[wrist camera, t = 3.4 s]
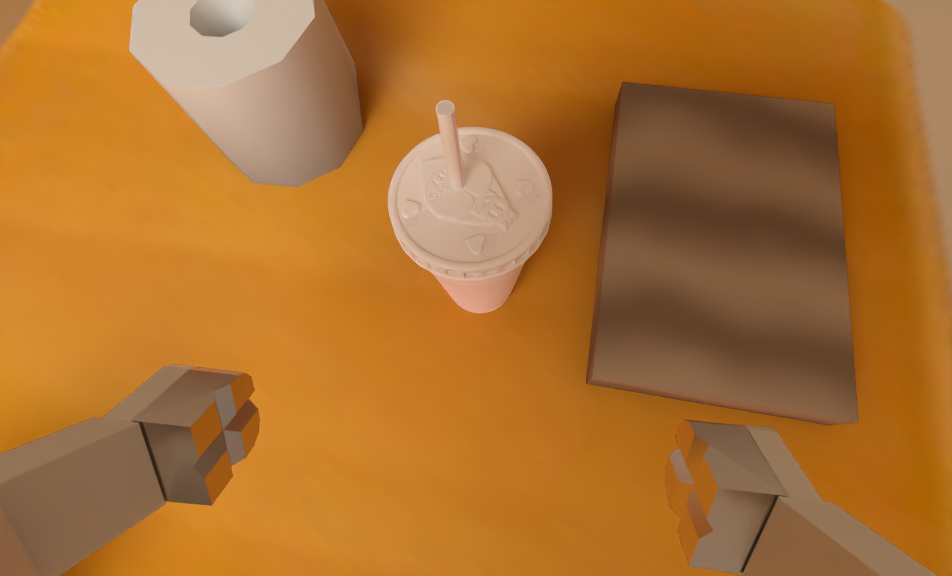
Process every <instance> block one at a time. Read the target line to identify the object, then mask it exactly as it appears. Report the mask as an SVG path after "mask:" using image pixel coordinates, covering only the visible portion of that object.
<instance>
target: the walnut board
mask: <svg viewBox="0 0 952 576" xmlns="http://www.w3.org/2000/svg"><path fill="white" fill-rule="evenodd" d="M586 384H592V385H598V386H603V387H609V388H615V389H621V390H627V391H633V392H638V393H644V394H650V395H656V396H662V397H668V398H673V399H679V400H685V401H691V402H697V403H703V404H708V405H714V406H720V407H726V408H732V409H738V410H743V411H749V412H755V413H761V414H767V415H772V416H778V417H784V418H790V419H796V420H802V421H807V422H813V423H819V424H825V425H839V424H849V423H859V422H858V409H857V396H856V383H855V370H854V356H853V343H852V330H851V317H850V304H849V291H848V277H847V264H846V251H845V238H844V225H843V212H842V199H841V185H840V172H839V159H838V146H837V133H836V120H835V106H834V104H832V103H822V102H812V101H803V100H793V99H783V98H773V97H764V96H754V95H744V94H735V93H725V92H715V91H705V90H696V89H686V88H676V87H666V86H657V85H647V84H637V83H628V82H623V83H622V86H621V89H620V92H619V95H618V98H617V101H616V105H615V113H614V123H613V132H612V141H611V151H610V160H609V170H608V179H607V189H606V198H605V208H604V217H603V227H602V236H601V245H600V255H599V264H598V274H597V283H596V293H595V302H594V312H593V321H592V331H591V340H590V349H589V359H588V368H587V378H586Z"/></svg>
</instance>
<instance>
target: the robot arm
mask: <svg viewBox="0 0 952 576" xmlns="http://www.w3.org/2000/svg"><path fill="white" fill-rule="evenodd" d="M254 391H255V390H254V386H253V382H252V378H251V376H249V375H248V374H246V373H243V372H235V371H227V370H220V369H212V368H204V367H193V366H186V365H178V364H171V365H167V366H164V367H163V368H161V369H160V370H159V371H158V372H157V373H155V374H154V375H153V376H152V377H151V378H149V379H148V380H147V381H146V382H145V383H143V384H142V385H141V386H140V387H139V388H137V389H136V390H135V391H134V392H133V393H132V394H130V395H129V396H128V397H127V398H126V399H124V400H123V401H122V402H121V403H120V404H118V405H117V406H116V407H115V408H114V409H112V410H111V411H110V412H109V413H108V414H106V415H105V416H104V417H103V418H95V417H93V418H91V419H88V420H86V421H83V422H81V423H78V424H76V425H73V426H70V427H68V428H65V429H63V430H60V431H58V432H55V433H53V434H50V435H48V436H45V437H42V438H40V439H37V440H35V441H32V442H30V443H27V444H25V445H22V446H20V447H17V448H14V449H12V450H9V451H7V452H4V453H2V454H0V576H60V575H61V574H63V573H64V572H66V571H67V570H69V569H70V568H72V567H73V566H75V565H76V564H78V563H79V562H81V561H82V560H84V559H85V558H87V557H88V556H89V555H91V554H92V553H94V552H95V551H97V550H98V549H100V548H101V547H103V546H104V545H106V544H107V543H109V542H110V541H112V540H113V539H115V538H116V537H117V536H119V535H120V534H122V533H123V532H125V531H126V530H128V529H129V528H131V527H132V526H134V525H135V524H137V523H138V522H140V521H141V520H143V519H144V518H145V517H147V516H148V515H150V514H151V513H153V512H154V511H156V510H157V509H159V508H160V507H162V506H163V505H165V501H168V502H178V503H189V504H199V505H210V506H212V505H213V503H214V502H215V500H216V499H217V498H218V496H219V495H220V493H221V492H222V491H223V489H224V488H225V486H226V485H227V484H228V482H229V481H230V479H231V478H232V477H233V474H232V465H234V464H236V463H238V462H239V461H241V460H243V459H245V458H246V457H247V455H248V454H249V452H250V451H251V449H252V448H253V446H254V444H255V441H256V438H257V436H258V433H259V424H260V417H259V411H258V408H257V407H256V406H255V405H254V404H253V403H252V402H251V401H250V400H249V398H250V396H251V395H252V394H253V392H254ZM675 438H676V441H677V443H678V446H679V448H678V449H677V450H675V451H674V452H672V453H671V454H670V455H669V458H668V462H667V466H666V473H665V487H666V493H667V498H668V501H669V505H670V508H671V509H672V510H673V511H674V512H675V513H676V514H677V515H678V516H679V517H680V518H681V521H680V524H679V527H678V530H677V531H678V534H679V537H680V540H681V543H682V546H683V550H684V553H685V556H686V559H687V562H688V565H689V566H691V567H697V568H704V569H710V570H717V571H723V572H730V573H736V574H742V576H937V575H936V574H934V573H933V572H931V571H930V570H928V569H927V568H926V567H924V566H923V565H921V564H920V563H918V562H917V561H916V560H914V559H913V558H911V557H910V556H908V555H907V554H906V553H904V552H903V551H901V550H900V549H899V548H897V547H896V546H894V545H893V544H891V543H890V542H889V541H887V540H886V539H884V538H883V537H881V536H880V535H879V534H877V533H876V532H874V531H873V530H871V529H870V528H869V527H867V526H866V525H864V524H863V523H861V522H860V521H859V520H857V519H856V518H854V517H853V516H851V515H850V514H849V513H847V512H846V511H844V510H843V509H841V508H840V507H839V506H837V505H836V504H834V503H831V502H823V500H822V499H821V497H820V496H819V494H818V493H817V491H816V490H815V488H814V487H813V485H812V484H811V482H810V481H809V479H808V478H807V476H806V475H805V473H804V472H803V470H802V469H801V467H800V466H799V464H798V463H797V461H796V460H795V458H794V457H793V455H792V454H791V452H790V451H789V449H788V448H787V446H786V445H785V443H784V442H783V440H782V439H781V437H780V436H779V434H778V433H777V432H776V431H775V430H774V429H772V428H771V427H763V426H751V425H732V424H722V423H712V422H702V421H692V420H682V421H681V423H680V424H679V425H678V428H677V432H676V435H675Z"/></svg>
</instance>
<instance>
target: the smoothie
mask: <svg viewBox="0 0 952 576" xmlns="http://www.w3.org/2000/svg"><path fill="white" fill-rule="evenodd" d="M436 113H437V118H438V124H439V129H440V133H438V134H435V135H433V136H431V137H429V138H427V139H426V140H424V141H423V142H421V143H420V144H418V145H417V146H416V147H414V148H413V149H412V150H411V151H410V152H409V153H408V154H407V155H406V156H405V157H404V159H403V160H402V161H401V163H400V164H399V166H398V167H397V169H396V171H395V173H394V175H393V177H392V180H391V183H390V187H389V192H388V211H389V216H390V220H391V223H392V225H393V228H394V233H395V236H396V238H397V239H398V241H399V243H400V245H401V246H402V248H403V250H404V252H405V253H406V254H407V255H408V256H409V257H410V258H411V259H413V260H414V261H415V262H416V263H417V264H418V265H419V266H420V267H422V268H424V269H426V270H428V271H430V272H431V273H432V274H433V275H434V276H435V278H436V279H437V280H438V281H439V283H440V284H441V285H442V286H443V288H444V289H445V290H446V291H447V293H448V294H449V295H450V296H451V298H452V299H453V300H454V301H455V303H456V304H457V305H458V306H460V307H461V308H463V309H464V310H466V311H469V312H472V313H488V312H491V311H494V310H496V309H498V308H499V307H501V306H502V305H503V304H504V303H505V302H506V301H507V300H508V298H509V296H510V294H511V292H512V290H513V288H514V285H515V283H516V281H517V279H518V277H519V274H520V272H521V270H522V268H523V265H524V263H525V261H526V260H527V259H528V258H529V257H530V256H531V255H532V254H533V253H534V252H536V251H537V249H538V248H539V246H540V244H541V243H542V241H543V239H544V238H545V236H546V234H547V232H548V229H549V225H550V220H551V216H552V186H551V181H550V177H549V175H548V172H547V170H546V168H545V166H544V164H543V162H542V161H541V159H540V158H539V157H538V155H537V154H536V153H535V152H534V151H533V150H532V149H531V148H530V147H529V146H528V145H526V144H525V143H524V142H522V141H521V140H519V139H518V138H516V137H514V136H512V135H510V134H508V133H505V132H502V131H499V130H496V129H492V128H486V127H460V128H457V123H456V116H455V109H454V105H453V103H452V102H450V101H447V100H444V101H441V102H439V103H438V104H437V105H436Z"/></svg>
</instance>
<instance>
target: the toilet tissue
mask: <svg viewBox="0 0 952 576" xmlns="http://www.w3.org/2000/svg"><path fill="white" fill-rule="evenodd" d="M129 51H130V52H131V53H132V54H133V56H134V57H135V58H136V59H137V60H138V61H139V62H140V63H141V64H142V65H143V66H144V68H145V69H146V70H147V71H148V72H149V73H150V74H151V75H152V76H153V77H154V79H155V80H156V81H157V82H158V83H159V84H160V85H161V86H162V87H163V88H164V89H165V91H166V92H167V93H168V94H169V95H170V96H171V97H172V98H173V99H174V100H175V101H176V103H177V104H178V105H179V106H180V107H181V108H182V109H183V110H184V111H185V112H186V113H187V115H188V116H189V117H190V118H191V119H192V120H193V121H194V122H195V123H196V124H197V126H198V127H199V128H200V129H201V130H202V131H203V132H204V133H205V134H206V135H207V136H208V138H209V139H210V140H211V141H212V142H213V143H214V144H215V145H216V146H217V147H218V148H219V150H220V151H221V152H222V153H223V154H224V155H225V156H226V157H227V158H228V159H229V160H230V161H231V162H232V163H233V164H234V165H235V166H236V167H237V168H238V169H239V170H240V171H241V172H242V173H243V174H244V175H245V176H246V177H248V178H249V179H250V180H251V181H252V182H253V183H259V184H270V185H281V186H291V187H299V186H301V185H303V184H305V183H307V182H309V181H311V180H313V179H316V178H318V177H320V176H322V175H324V174H326V173H328V172H330V171H332V170H335V169H337V168H339V167H340V166H341V165H342V163H343V162H344V160H345V159H346V157H347V156H348V154H349V153H350V151H351V150H352V148H353V147H354V145H355V143H356V142H357V140H358V139H359V137H360V136H361V134H362V133H363V123H362V115H361V107H360V99H359V91H358V82H357V74H356V66H355V62H354V60H353V58H352V56H351V54H350V52H349V50H348V48H347V46H346V44H345V42H344V40H343V38H342V36H341V34H340V32H339V30H338V28H337V26H336V24H335V22H334V20H333V17H332V15H331V13H330V11H329V9H328V7H327V5H326V3H325V1H324V0H138V1H137V3H136V4H135V5H134V6H133V12H132V23H131V34H130V46H129Z"/></svg>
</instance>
